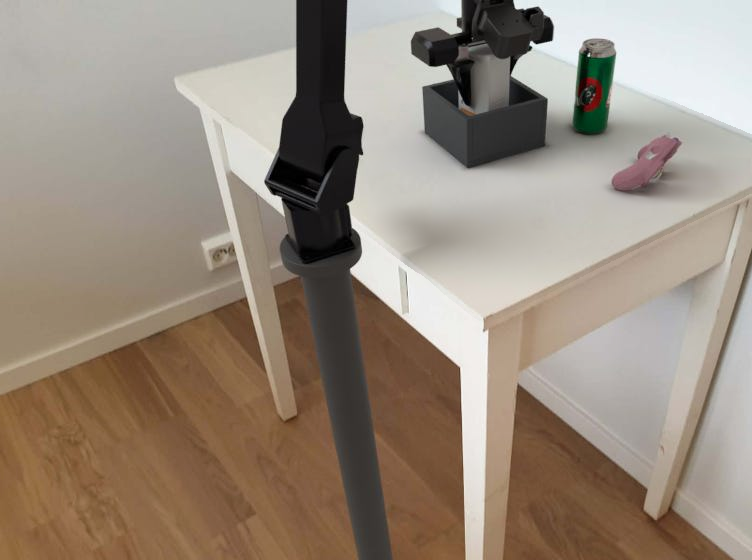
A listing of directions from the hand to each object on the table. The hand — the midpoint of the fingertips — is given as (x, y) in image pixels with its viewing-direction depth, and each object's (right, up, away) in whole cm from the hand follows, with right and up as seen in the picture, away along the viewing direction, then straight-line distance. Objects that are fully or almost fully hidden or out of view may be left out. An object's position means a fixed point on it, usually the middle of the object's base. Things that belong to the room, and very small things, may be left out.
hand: (483, 101), depth 100 cm
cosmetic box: (0, -4, +3) cm, 5 cm away
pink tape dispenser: (+21, -12, -5) cm, 25 cm away
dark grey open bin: (0, -4, +4) cm, 6 cm away
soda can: (+16, -2, +6) cm, 17 cm away
